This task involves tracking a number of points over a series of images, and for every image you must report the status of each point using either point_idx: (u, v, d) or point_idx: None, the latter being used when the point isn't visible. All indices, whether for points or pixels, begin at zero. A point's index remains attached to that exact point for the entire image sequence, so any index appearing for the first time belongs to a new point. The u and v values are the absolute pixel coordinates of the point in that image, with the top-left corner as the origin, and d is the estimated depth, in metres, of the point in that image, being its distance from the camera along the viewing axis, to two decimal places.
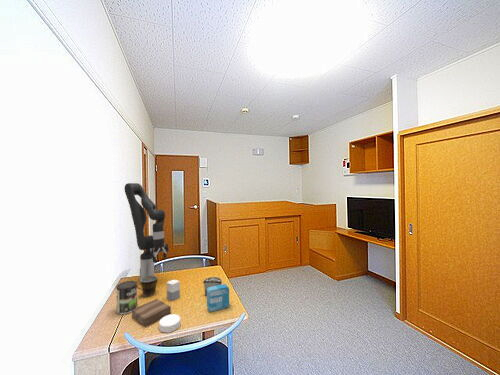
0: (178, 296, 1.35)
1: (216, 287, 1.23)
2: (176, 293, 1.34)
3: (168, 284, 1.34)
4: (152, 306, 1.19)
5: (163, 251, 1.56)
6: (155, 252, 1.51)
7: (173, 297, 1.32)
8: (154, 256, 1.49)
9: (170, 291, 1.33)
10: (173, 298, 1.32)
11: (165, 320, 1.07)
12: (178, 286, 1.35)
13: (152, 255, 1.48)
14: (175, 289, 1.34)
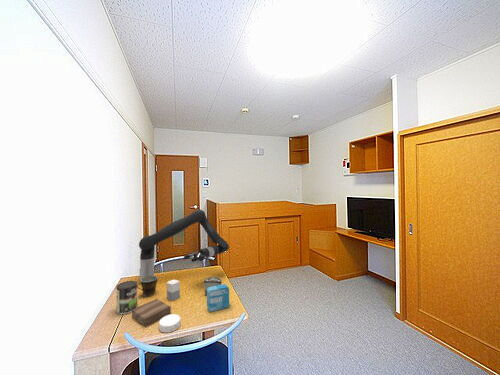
0: (178, 296, 1.35)
1: (216, 287, 1.23)
2: (176, 293, 1.34)
3: (168, 284, 1.34)
4: (152, 306, 1.19)
5: (192, 257, 1.51)
6: None
7: (173, 297, 1.32)
8: (198, 260, 1.45)
9: (170, 291, 1.33)
10: (173, 298, 1.32)
11: (165, 320, 1.07)
12: (178, 286, 1.35)
13: (201, 260, 1.45)
14: (175, 289, 1.34)
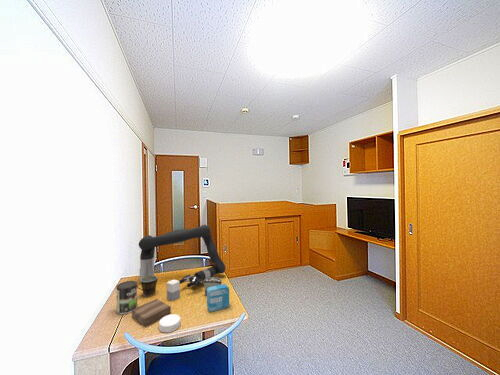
0: (178, 296, 1.35)
1: (216, 287, 1.23)
2: (176, 293, 1.34)
3: (168, 284, 1.34)
4: (152, 306, 1.19)
5: (187, 280, 1.48)
6: None
7: (173, 297, 1.32)
8: (193, 285, 1.42)
9: (170, 291, 1.33)
10: (173, 298, 1.32)
11: (165, 320, 1.07)
12: (178, 286, 1.35)
13: (196, 285, 1.42)
14: (175, 289, 1.34)
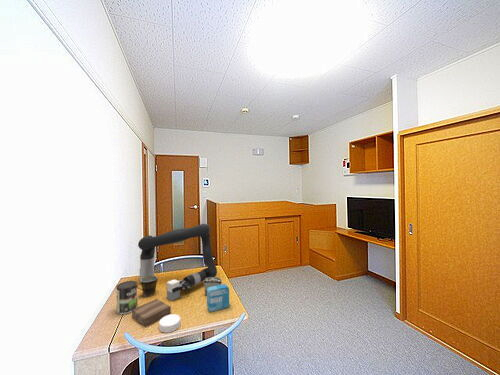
0: (178, 296, 1.35)
1: (216, 287, 1.23)
2: (176, 293, 1.34)
3: (168, 284, 1.34)
4: (152, 306, 1.19)
5: None
6: None
7: (173, 297, 1.32)
8: (179, 290, 1.35)
9: (170, 291, 1.33)
10: (173, 298, 1.32)
11: (165, 320, 1.07)
12: None
13: (182, 290, 1.34)
14: None
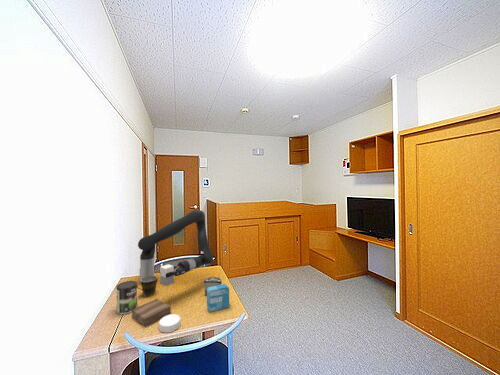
0: (172, 281, 1.29)
1: (216, 287, 1.23)
2: (170, 278, 1.28)
3: (161, 269, 1.28)
4: (152, 306, 1.19)
5: None
6: None
7: (167, 282, 1.26)
8: (173, 275, 1.28)
9: (164, 276, 1.26)
10: (167, 283, 1.26)
11: (165, 320, 1.07)
12: None
13: (177, 275, 1.28)
14: None
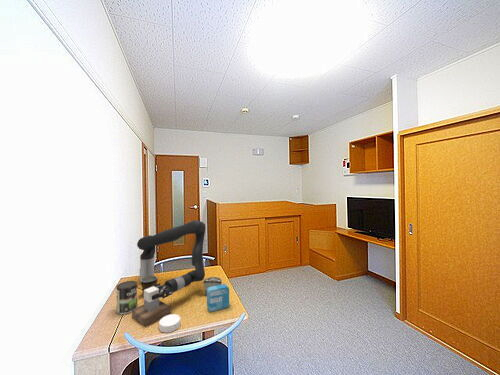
0: (157, 306, 1.17)
1: (216, 287, 1.23)
2: (155, 302, 1.16)
3: (145, 292, 1.15)
4: None
5: None
6: None
7: (151, 307, 1.14)
8: None
9: (147, 300, 1.14)
10: (151, 309, 1.14)
11: (165, 320, 1.07)
12: None
13: (164, 297, 1.16)
14: None
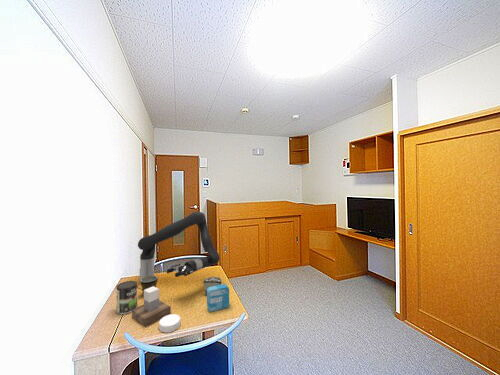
0: (157, 306, 1.17)
1: (216, 287, 1.23)
2: (155, 302, 1.16)
3: (145, 292, 1.15)
4: None
5: (176, 270, 1.33)
6: None
7: (151, 307, 1.14)
8: None
9: (147, 300, 1.14)
10: (151, 309, 1.14)
11: (165, 320, 1.07)
12: (157, 294, 1.17)
13: (186, 275, 1.27)
14: (153, 298, 1.15)
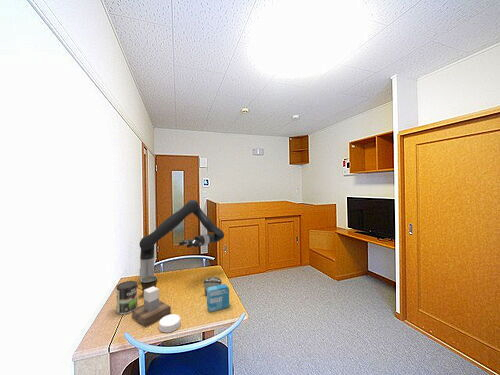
0: (157, 306, 1.17)
1: (216, 287, 1.23)
2: (155, 302, 1.16)
3: (145, 292, 1.15)
4: None
5: (187, 243, 1.53)
6: None
7: (151, 307, 1.14)
8: (193, 246, 1.47)
9: (147, 300, 1.14)
10: (151, 309, 1.14)
11: (165, 320, 1.07)
12: (157, 294, 1.17)
13: (196, 246, 1.47)
14: (153, 298, 1.15)
